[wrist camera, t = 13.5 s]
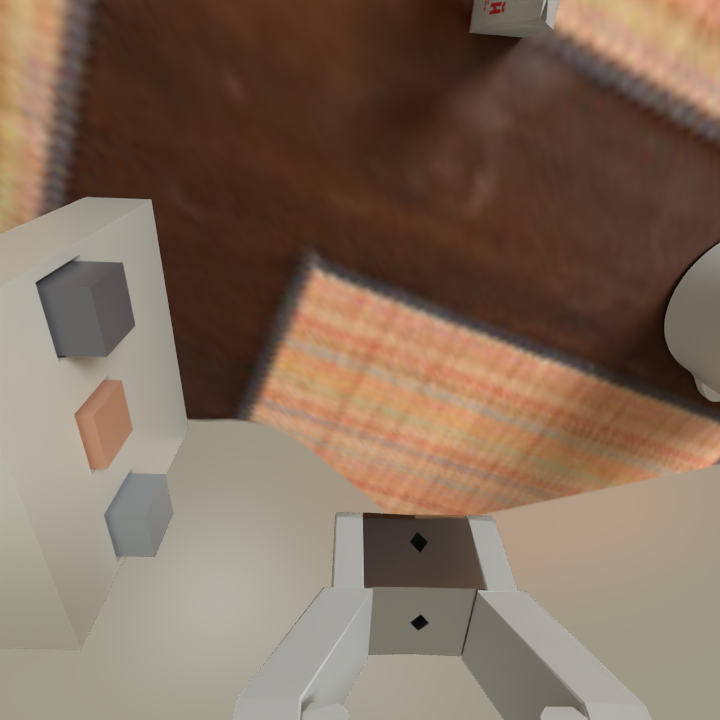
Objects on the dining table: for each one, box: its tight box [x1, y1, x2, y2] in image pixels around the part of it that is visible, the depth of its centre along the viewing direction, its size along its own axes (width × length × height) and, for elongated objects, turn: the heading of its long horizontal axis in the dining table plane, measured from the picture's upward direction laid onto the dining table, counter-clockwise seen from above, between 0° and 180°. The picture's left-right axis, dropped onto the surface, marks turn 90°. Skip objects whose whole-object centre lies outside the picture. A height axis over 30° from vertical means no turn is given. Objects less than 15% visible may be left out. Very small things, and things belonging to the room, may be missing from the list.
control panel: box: [0, 197, 188, 650], centre depth 34 cm, size 5×22×22 cm, turn 178°
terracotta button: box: [74, 380, 133, 469], centre depth 32 cm, size 4×4×4 cm
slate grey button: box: [104, 473, 173, 557], centre depth 36 cm, size 4×4×4 cm
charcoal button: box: [35, 261, 135, 357], centre depth 28 cm, size 4×4×4 cm
